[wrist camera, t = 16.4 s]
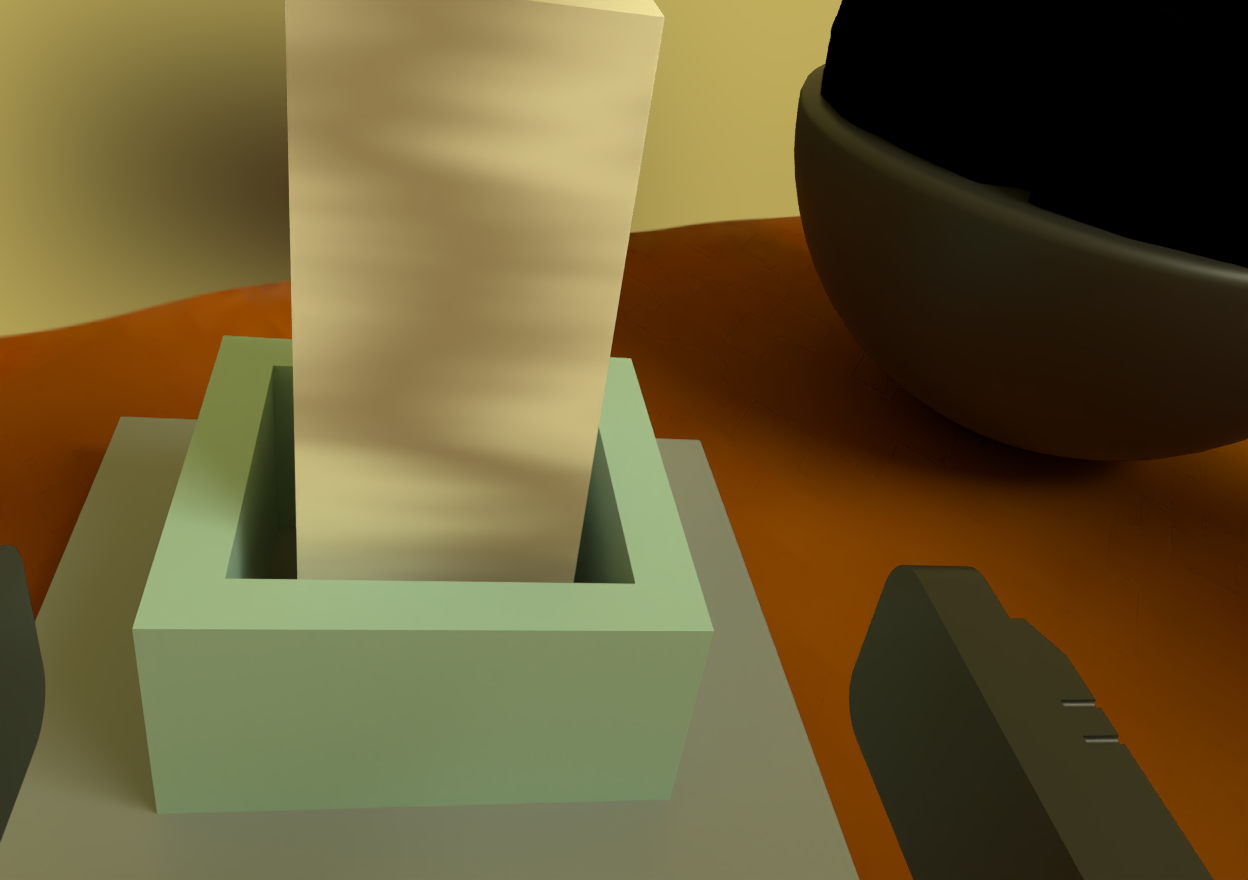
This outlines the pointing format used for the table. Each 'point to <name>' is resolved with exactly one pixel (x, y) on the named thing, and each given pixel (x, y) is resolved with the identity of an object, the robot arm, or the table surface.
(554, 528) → the square peg
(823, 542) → the table surface
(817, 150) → the coal bowl
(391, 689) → the socket holder
